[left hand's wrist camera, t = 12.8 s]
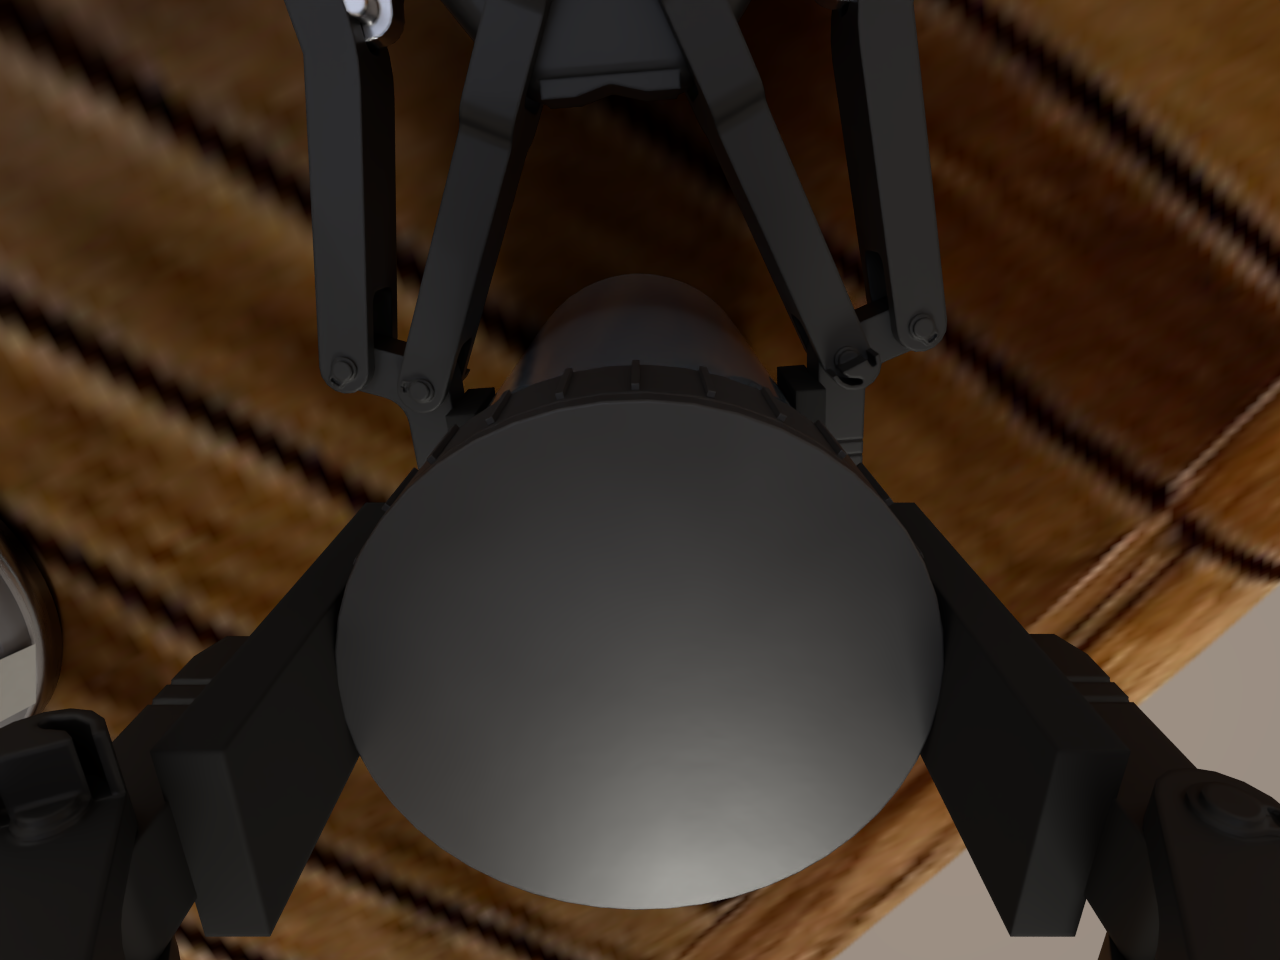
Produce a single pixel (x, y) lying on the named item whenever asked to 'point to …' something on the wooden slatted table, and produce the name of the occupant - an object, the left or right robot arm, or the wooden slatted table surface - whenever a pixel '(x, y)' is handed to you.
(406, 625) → the lid
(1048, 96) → the wooden slatted table surface
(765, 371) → the jar
